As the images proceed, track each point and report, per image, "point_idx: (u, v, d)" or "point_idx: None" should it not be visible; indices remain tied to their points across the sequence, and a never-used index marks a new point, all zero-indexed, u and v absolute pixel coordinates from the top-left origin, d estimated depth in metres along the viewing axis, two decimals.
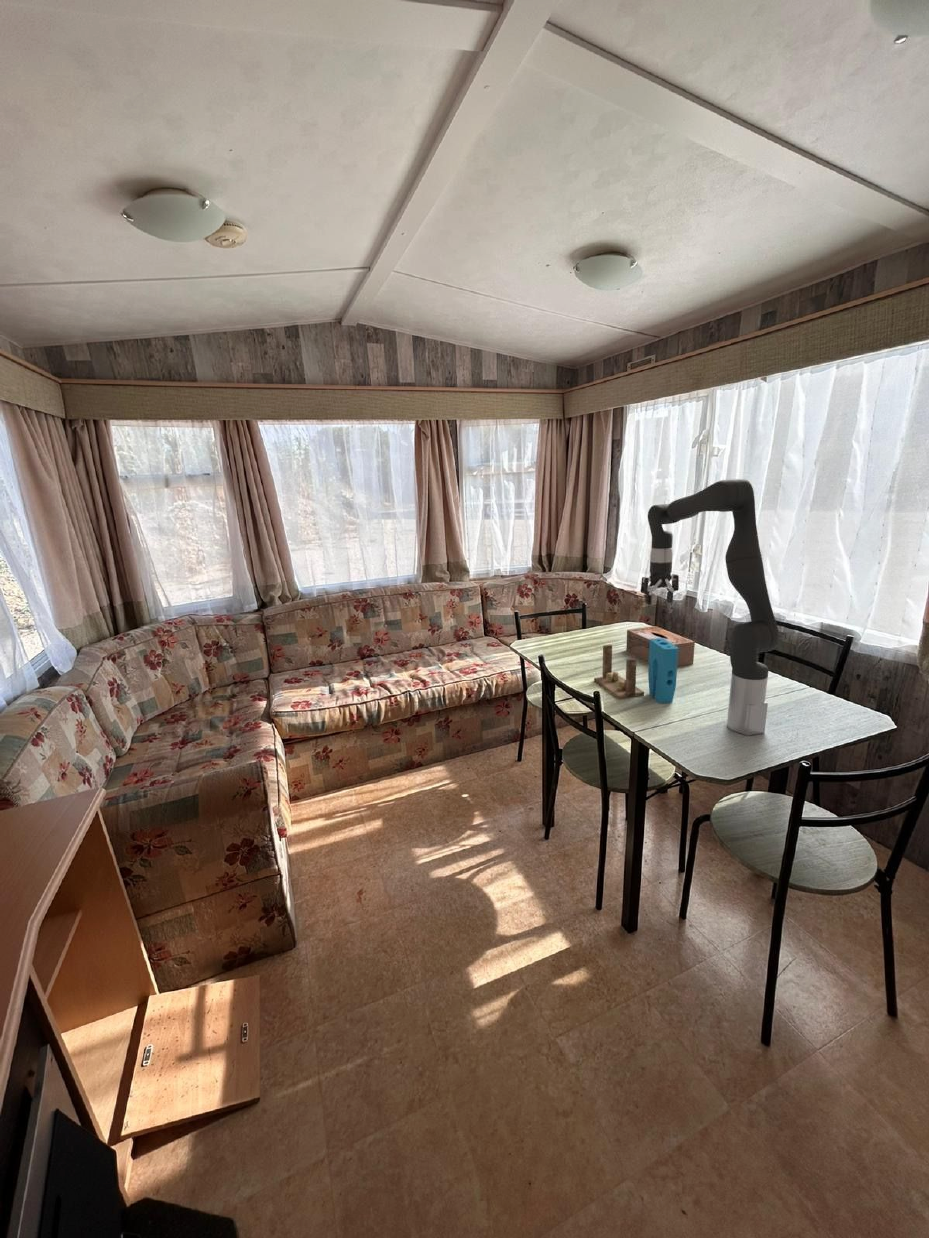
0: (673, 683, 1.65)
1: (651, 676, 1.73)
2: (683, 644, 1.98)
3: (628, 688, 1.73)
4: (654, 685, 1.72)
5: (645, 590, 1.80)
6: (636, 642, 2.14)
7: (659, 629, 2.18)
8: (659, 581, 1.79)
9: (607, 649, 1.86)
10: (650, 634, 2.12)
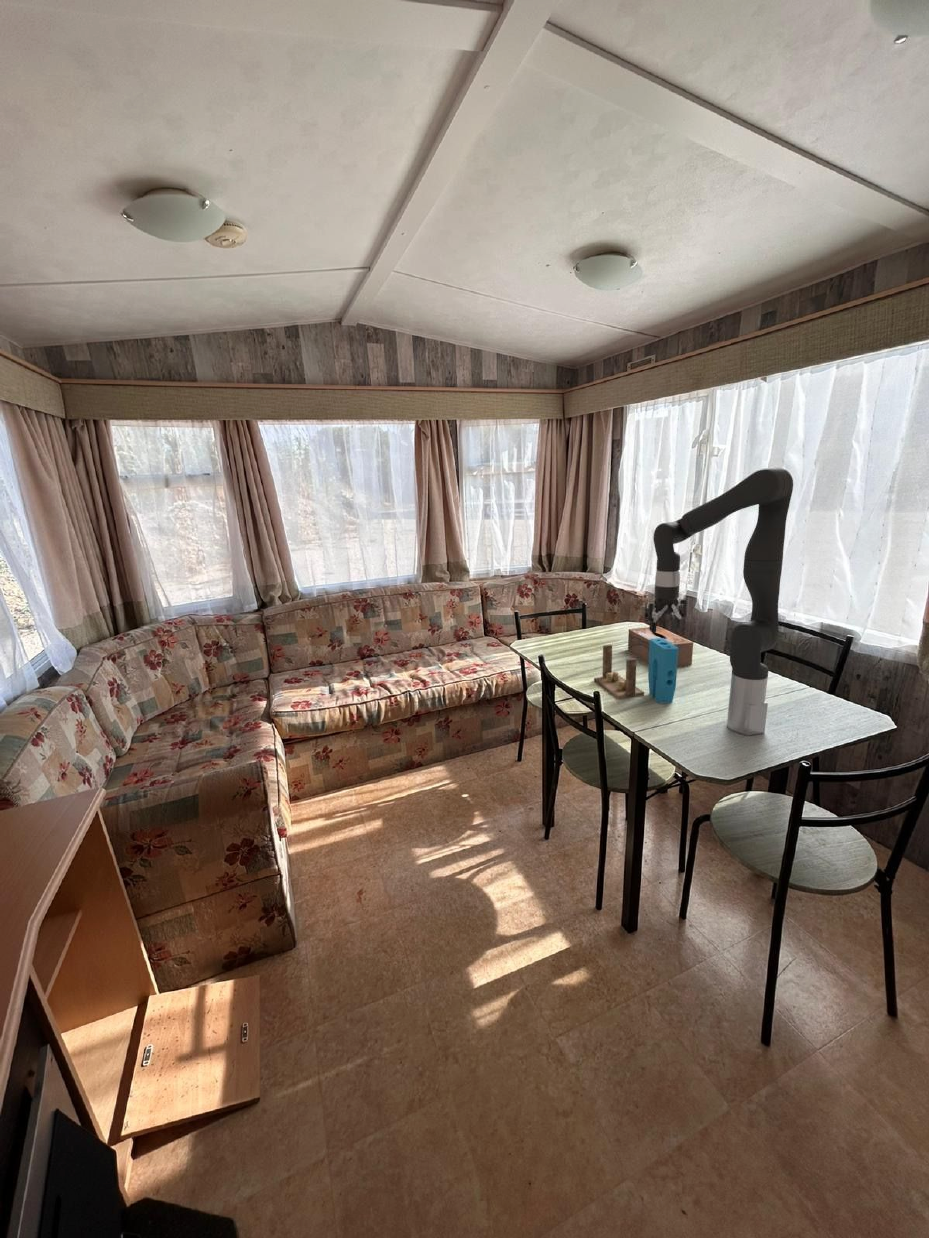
0: (673, 683, 1.65)
1: (651, 676, 1.73)
2: (681, 644, 1.98)
3: (628, 688, 1.73)
4: (654, 685, 1.72)
5: (649, 617, 1.62)
6: (636, 641, 2.15)
7: (661, 629, 2.18)
8: (665, 607, 1.62)
9: (607, 649, 1.86)
10: (650, 634, 2.12)
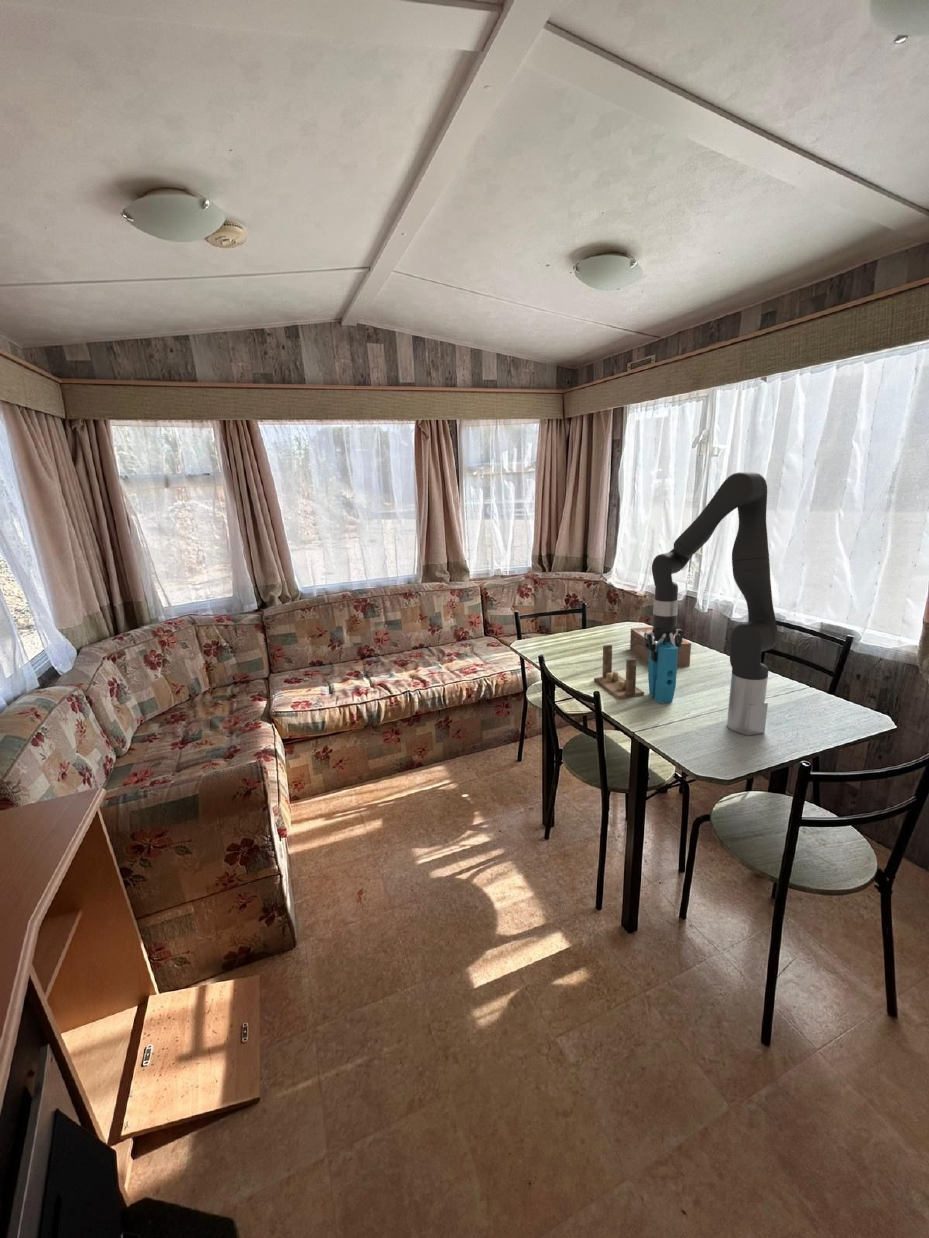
0: (673, 683, 1.65)
1: (651, 676, 1.73)
2: None
3: (628, 688, 1.73)
4: (654, 685, 1.72)
5: (650, 647, 1.65)
6: (637, 641, 2.16)
7: None
8: (663, 635, 1.64)
9: (607, 649, 1.86)
10: None
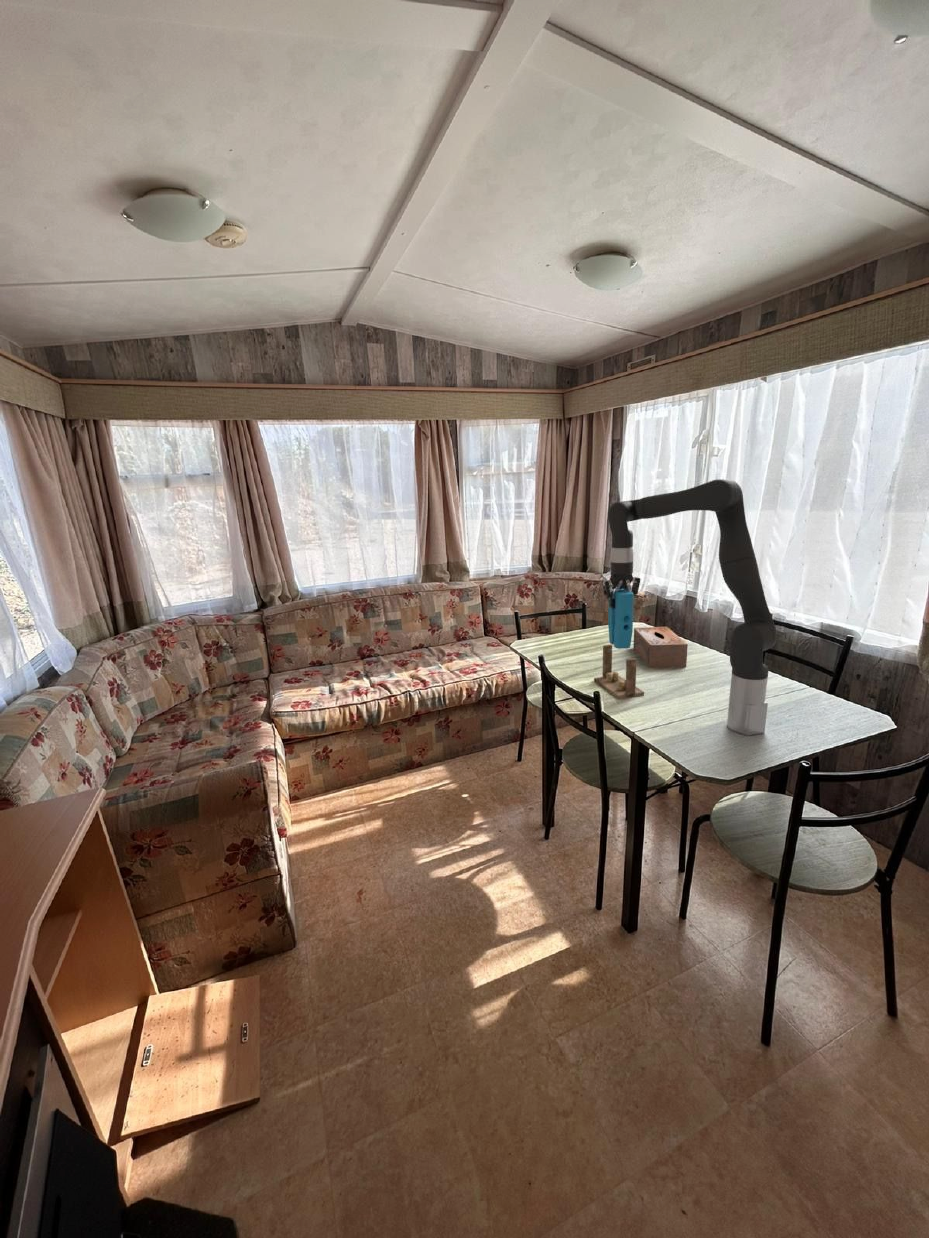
0: (629, 628, 1.71)
1: (610, 624, 1.79)
2: (673, 645, 1.97)
3: (628, 688, 1.73)
4: (613, 632, 1.78)
5: (608, 594, 1.71)
6: (638, 640, 2.17)
7: (666, 630, 2.16)
8: (620, 582, 1.70)
9: (607, 649, 1.86)
10: (651, 633, 2.12)
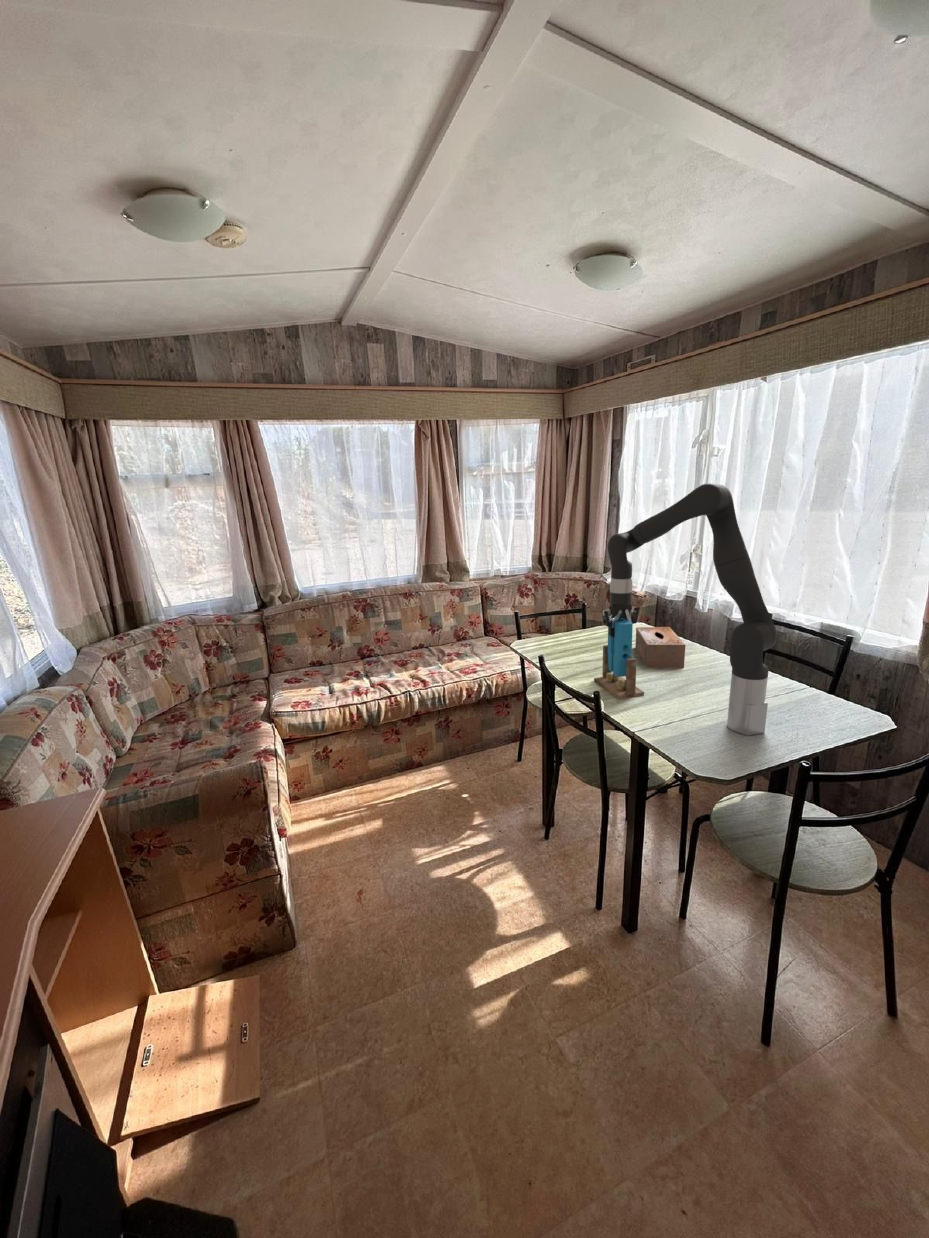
0: (629, 657, 1.73)
1: (610, 652, 1.82)
2: (671, 645, 1.97)
3: (628, 688, 1.73)
4: (612, 660, 1.81)
5: (607, 623, 1.74)
6: (638, 640, 2.17)
7: (668, 630, 2.16)
8: (619, 612, 1.73)
9: (607, 649, 1.86)
10: (652, 633, 2.13)
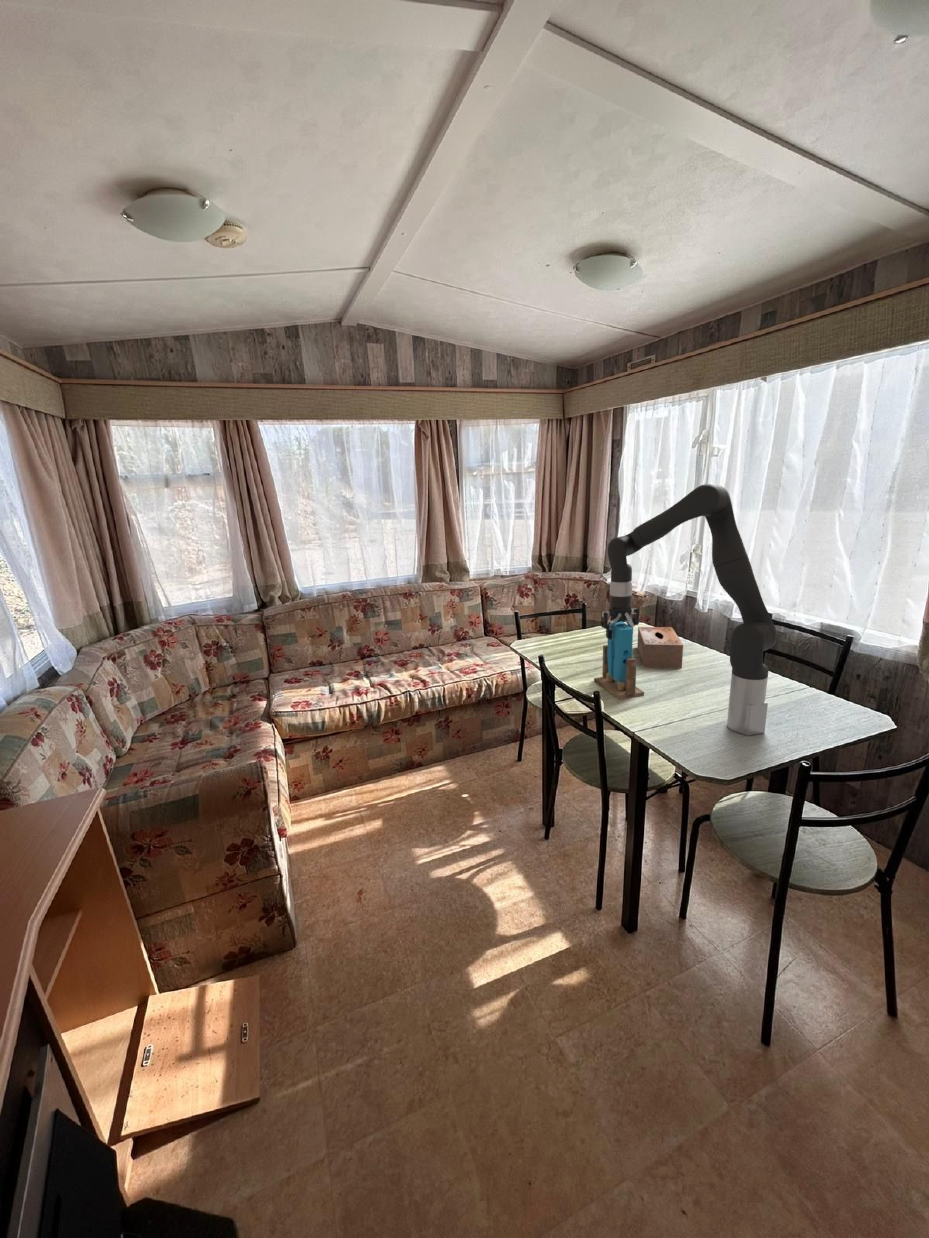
0: None
1: (609, 657, 1.82)
2: (668, 645, 1.97)
3: (628, 688, 1.73)
4: (612, 665, 1.81)
5: (605, 625, 1.74)
6: (639, 639, 2.18)
7: (670, 630, 2.15)
8: (619, 615, 1.73)
9: None
10: (652, 633, 2.13)
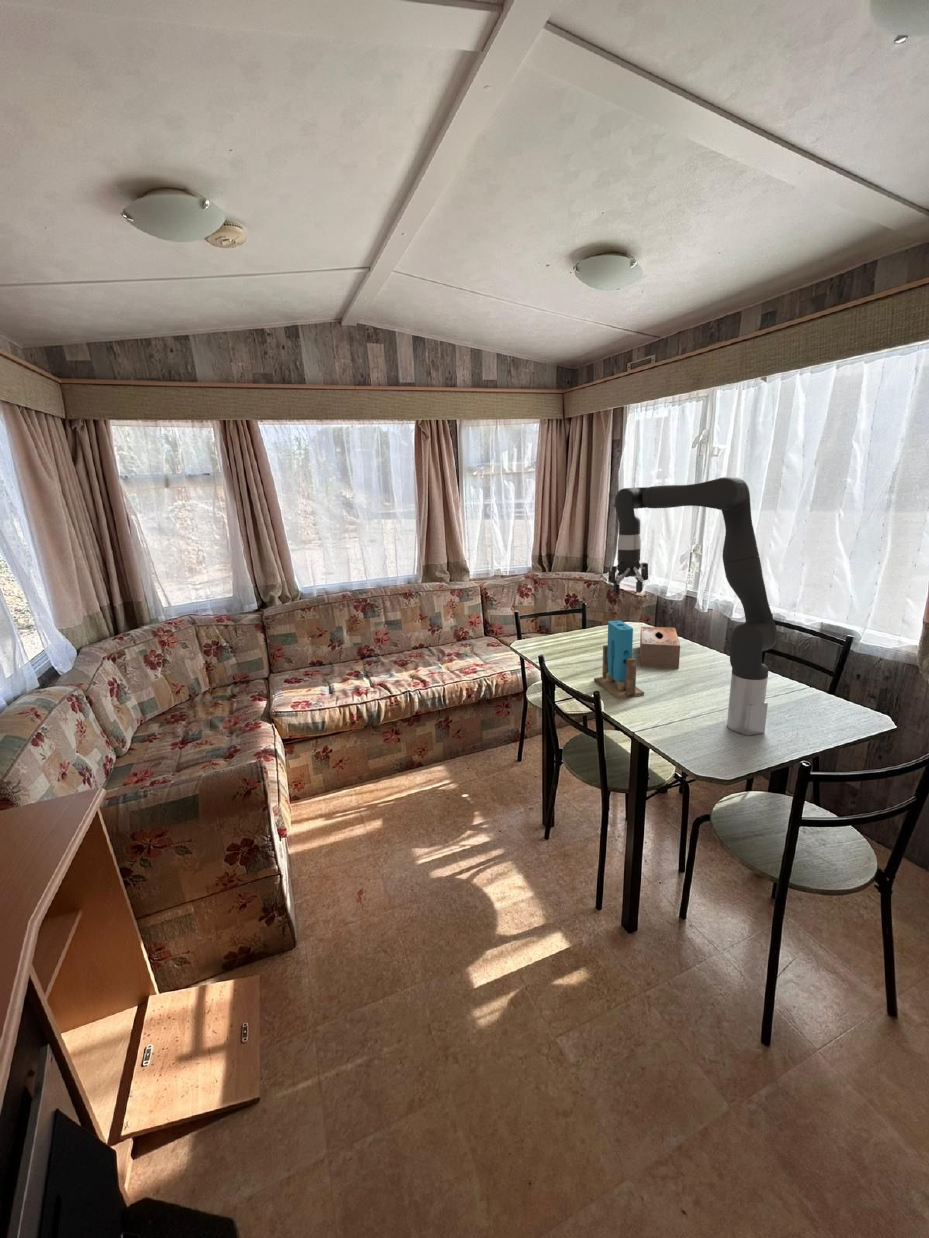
0: None
1: (609, 657, 1.82)
2: (665, 646, 1.97)
3: (628, 688, 1.73)
4: (612, 665, 1.81)
5: (612, 579, 1.70)
6: None
7: (672, 631, 2.15)
8: (627, 570, 1.69)
9: None
10: (652, 633, 2.13)
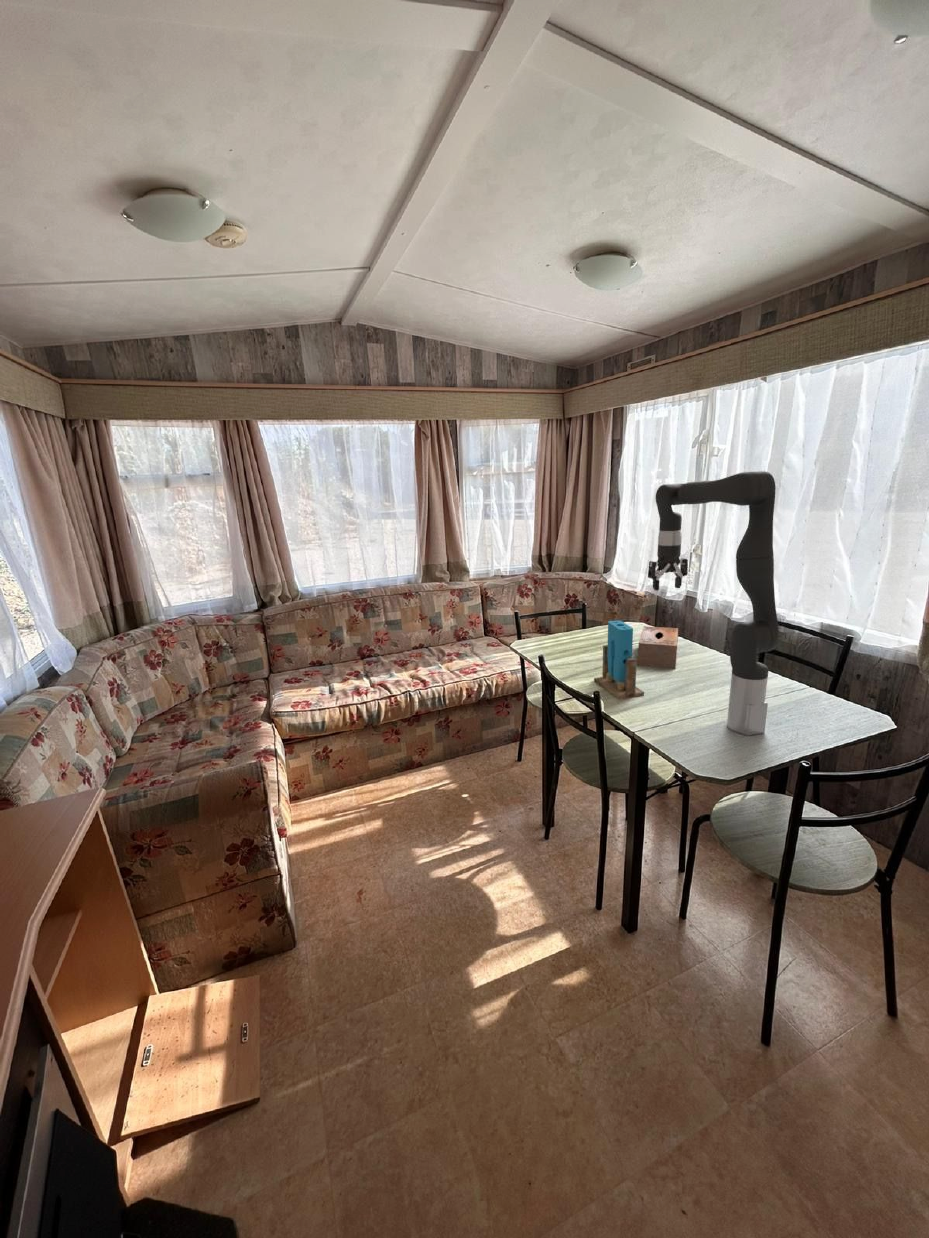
0: None
1: (609, 657, 1.82)
2: (662, 646, 1.98)
3: (628, 688, 1.73)
4: (612, 665, 1.81)
5: (652, 575, 1.71)
6: None
7: (673, 631, 2.14)
8: (667, 565, 1.71)
9: None
10: (653, 633, 2.13)
